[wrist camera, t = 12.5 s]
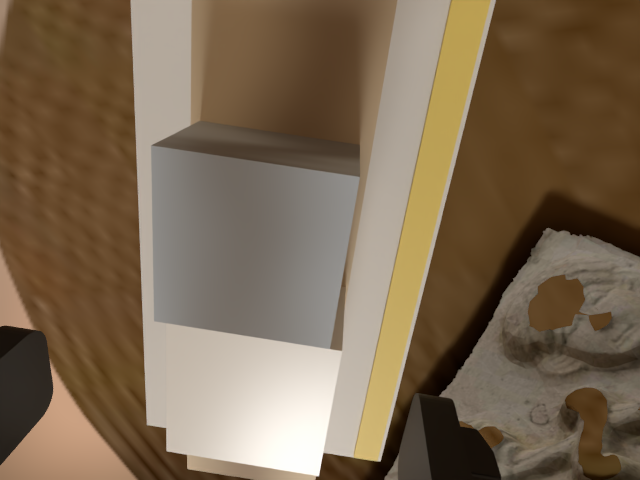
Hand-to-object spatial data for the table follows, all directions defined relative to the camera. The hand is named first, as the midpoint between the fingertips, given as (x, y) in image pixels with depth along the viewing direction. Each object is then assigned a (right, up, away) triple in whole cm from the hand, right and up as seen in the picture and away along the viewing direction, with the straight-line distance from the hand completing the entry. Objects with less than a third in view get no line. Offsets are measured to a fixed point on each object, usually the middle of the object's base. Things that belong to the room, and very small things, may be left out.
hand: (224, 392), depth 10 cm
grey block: (+1, +4, +3) cm, 6 cm away
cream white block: (0, 0, +5) cm, 5 cm away
